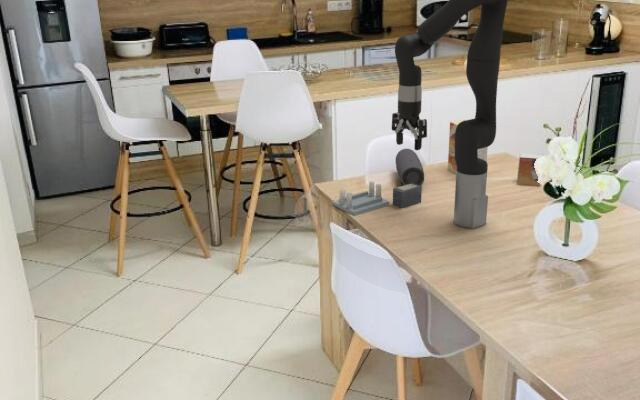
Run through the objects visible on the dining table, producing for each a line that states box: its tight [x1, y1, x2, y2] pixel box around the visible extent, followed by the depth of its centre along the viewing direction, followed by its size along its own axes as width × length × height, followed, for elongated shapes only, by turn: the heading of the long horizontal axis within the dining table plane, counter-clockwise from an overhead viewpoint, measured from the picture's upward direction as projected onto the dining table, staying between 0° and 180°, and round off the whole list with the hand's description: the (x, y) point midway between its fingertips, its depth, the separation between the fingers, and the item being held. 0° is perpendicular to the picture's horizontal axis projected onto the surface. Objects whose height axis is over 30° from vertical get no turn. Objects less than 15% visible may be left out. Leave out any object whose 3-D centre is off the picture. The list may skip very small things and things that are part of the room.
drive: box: [392, 183, 423, 209], centre depth 218 cm, size 4×9×6 cm, turn 126°
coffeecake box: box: [447, 119, 489, 175], centre depth 242 cm, size 15×7×20 cm, turn 25°
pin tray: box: [332, 181, 390, 216], centre depth 218 cm, size 12×15×6 cm
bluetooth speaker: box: [395, 148, 425, 186], centre depth 238 cm, size 23×9×10 cm, turn 179°
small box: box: [516, 152, 543, 187], centre depth 233 cm, size 8×6×10 cm
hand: (408, 147), depth 212 cm, fingers open, 8 cm apart
